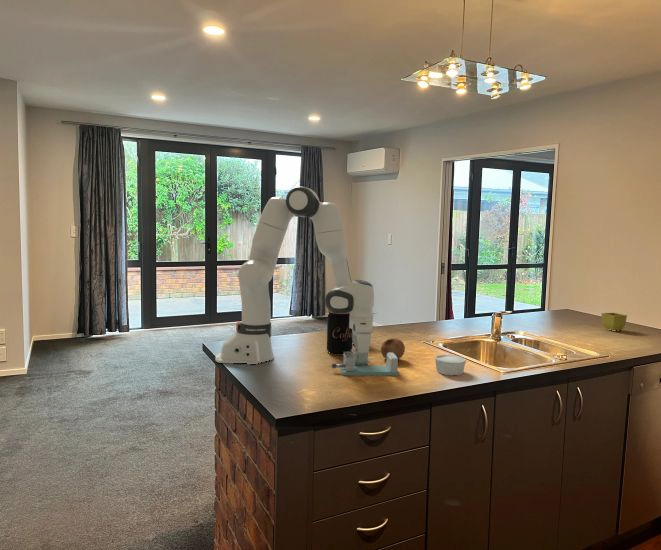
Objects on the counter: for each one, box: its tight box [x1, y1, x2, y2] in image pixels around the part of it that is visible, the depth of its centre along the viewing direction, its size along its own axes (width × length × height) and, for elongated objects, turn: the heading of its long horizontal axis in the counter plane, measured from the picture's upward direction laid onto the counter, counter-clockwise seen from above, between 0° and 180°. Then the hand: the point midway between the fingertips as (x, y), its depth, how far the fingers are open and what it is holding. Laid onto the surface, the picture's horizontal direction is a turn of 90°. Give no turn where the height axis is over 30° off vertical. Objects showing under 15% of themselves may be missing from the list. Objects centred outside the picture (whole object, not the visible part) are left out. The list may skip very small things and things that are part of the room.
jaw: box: [331, 352, 356, 371], centre depth 176 cm, size 8×8×5 cm
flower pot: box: [600, 312, 628, 331], centre depth 261 cm, size 9×9×9 cm
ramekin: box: [434, 354, 467, 376], centre depth 180 cm, size 11×11×5 cm
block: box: [351, 348, 369, 366], centre depth 185 cm, size 6×4×5 cm, turn 95°
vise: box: [340, 353, 400, 376], centre depth 177 cm, size 20×8×6 cm, turn 95°
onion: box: [380, 337, 406, 360], centre depth 194 cm, size 10×9×10 cm
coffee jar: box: [326, 309, 353, 355], centre depth 203 cm, size 11×11×18 cm
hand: (359, 359), depth 185 cm, fingers closed on block, 4 cm apart
